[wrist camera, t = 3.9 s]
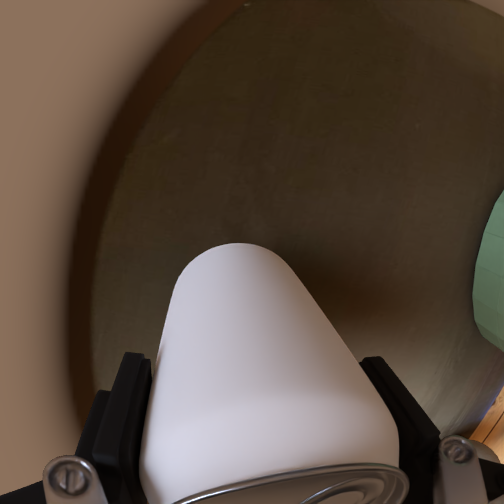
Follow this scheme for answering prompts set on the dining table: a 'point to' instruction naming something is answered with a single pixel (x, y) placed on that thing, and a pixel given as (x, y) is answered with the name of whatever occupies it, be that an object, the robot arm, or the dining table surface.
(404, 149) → the dining table surface
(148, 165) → the dining table surface
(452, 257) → the dining table surface
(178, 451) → the can
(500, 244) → the green faceted bowl
